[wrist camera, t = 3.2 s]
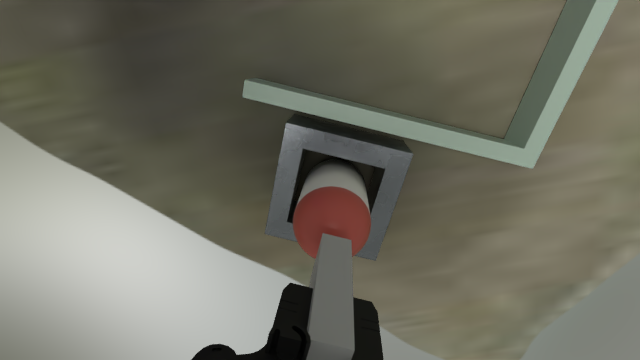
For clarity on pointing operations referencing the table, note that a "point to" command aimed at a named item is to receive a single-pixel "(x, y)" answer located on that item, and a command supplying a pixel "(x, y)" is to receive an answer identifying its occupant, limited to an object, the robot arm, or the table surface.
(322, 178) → the plunger
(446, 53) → the table surface
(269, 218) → the housing
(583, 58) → the bay
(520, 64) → the table surface
